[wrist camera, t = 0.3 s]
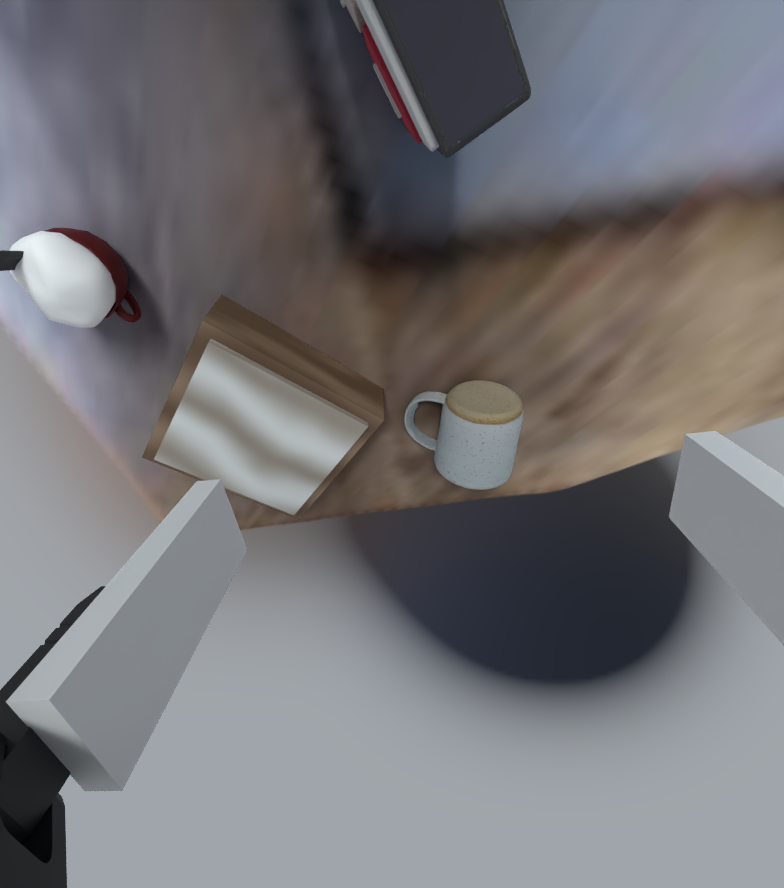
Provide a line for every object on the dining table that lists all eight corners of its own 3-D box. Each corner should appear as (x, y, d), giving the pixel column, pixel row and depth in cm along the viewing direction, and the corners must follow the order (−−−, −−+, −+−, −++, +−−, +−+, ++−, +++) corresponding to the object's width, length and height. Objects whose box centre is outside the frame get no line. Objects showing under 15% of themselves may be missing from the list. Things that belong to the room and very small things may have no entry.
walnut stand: (221, 294, 34) (199, 324, 30) (383, 389, 40) (384, 424, 36) (163, 424, 42) (139, 461, 38) (305, 485, 48) (298, 524, 44)
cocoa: (165, 299, 35) (102, 378, 26) (102, 324, 36) (20, 409, 27) (72, 171, 28) (-55, 217, 19) (-2, 205, 29) (-154, 265, 20)
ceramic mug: (516, 374, 40) (539, 423, 34) (501, 440, 45) (519, 493, 39) (404, 374, 40) (407, 424, 34) (403, 441, 45) (405, 493, 39)
